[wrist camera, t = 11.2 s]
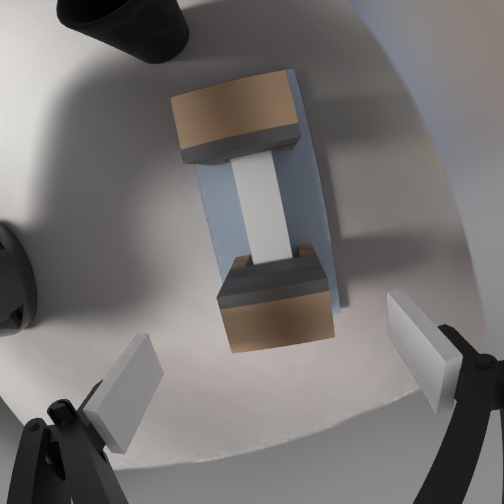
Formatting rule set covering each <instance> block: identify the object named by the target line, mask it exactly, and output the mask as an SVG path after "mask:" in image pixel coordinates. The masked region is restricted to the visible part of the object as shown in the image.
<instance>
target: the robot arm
mask: <svg viewBox="0 0 504 504" xmlns="http://www.w3.org/2000/svg"><path fill="white" fill-rule="evenodd" d="M36 303H37V297H36V287H35V281H34V277H33V273H32V269H31V266H30V264H29V261H28V259H27V256H26V254H25V252H24V250H23V248H22V246H21V245H20V243H19V241H18V240H17V239H16V237H15V236H14V235H13V234H12V233H11V232H10V231H9V230H8V229H7V228H6V227H4V226H3V225H1V224H0V337H4V336H9V335H13V334H16V333H18V332H20V331H21V330H22V329H24V328H25V327H27V326H28V325H29V324H30V323H31V321H32V320H33V318H34V315H35V311H36ZM387 307H388V336H389V338H390V340H391V341H392V343H393V344H394V346H395V347H396V349H397V351H398V352H399V354H400V355H401V357H402V358H403V360H404V362H405V363H406V365H407V366H408V368H409V370H410V371H411V373H412V375H413V376H414V378H415V380H416V381H417V383H418V385H419V386H420V388H421V390H422V391H423V393H424V394H425V396H426V398H427V399H428V401H429V403H430V405H431V407H432V408H433V410H434V412H435V413H436V415H437V414H440V413H442V412H445V411H447V410H450V409H452V407H453V403H454V399H456V401H457V403H456V406H455V409H454V412H453V415H452V418H451V421H450V423H449V426H448V429H447V431H446V434H445V436H444V439H443V441H442V444H441V446H440V449H439V451H438V454H437V456H436V458H435V460H434V462H433V465H432V467H431V469H430V471H429V473H428V475H427V477H426V479H425V481H424V483H423V486H422V488H421V489H420V491H419V493H418V495H417V497H416V499H415V500H414V502H413V504H462V502H463V500H464V498H465V495H466V492H467V490H468V487H469V484H470V481H471V479H472V476H473V473H474V471H475V468H476V464H477V461H478V458H479V455H480V452H481V448H482V445H483V441H484V437H485V434H486V430H487V425H488V421H489V417H490V412H491V411H492V410H498V409H500V416H501V427H502V443H503V493H502V504H504V360H503V361H497V359H496V358H495V357H493V356H491V355H489V354H479V353H478V352H477V351H476V350H475V349H474V348H473V347H472V346H471V345H470V344H469V343H468V342H467V341H466V340H464V338H463V337H462V336H461V335H460V334H459V333H458V332H457V331H456V330H455V329H454V328H453V327H451V326H448V325H446V324H444V325H441V326H438V327H437V326H436V325H435V324H434V323H433V322H432V321H431V320H430V319H429V318H428V317H427V316H426V315H425V314H424V313H423V312H422V311H421V310H420V309H419V308H418V307H417V305H416V304H415V303H414V302H413V301H412V300H411V299H410V298H409V297H408V296H407V295H406V294H405V293H404V292H403V291H402V290H401V289H396V290H392V291H388V292H387ZM163 374H164V372H163V370H162V368H161V365H160V363H159V361H158V358H157V356H156V353H155V351H154V348H153V346H152V343H151V341H150V338H149V336H148V334H142V335H136V336H135V338H134V339H133V340H132V342H131V343H130V344H129V346H128V347H127V348H126V350H125V351H124V352H123V354H122V355H121V357H120V358H119V359H118V361H117V362H116V363H115V365H114V366H113V368H112V369H111V370H110V372H109V373H108V374H107V376H106V377H105V379H104V380H101V381H100V382H99V383H98V384H96V385H95V386H94V387H93V389H92V390H91V392H90V393H89V394H88V396H87V398H86V399H85V400H84V401H83V403H82V404H81V406H80V407H79V408H78V410H77V411H76V410H75V408H74V407H73V405H72V404H71V402H70V400H68V399H61V400H57V401H55V402H54V403H52V404H51V405H50V406H49V408H48V409H47V413H48V415H49V416H50V418H51V419H52V421H53V422H54V424H55V425H48V426H47V424H46V423H45V421H44V420H43V419H42V418H35V419H31V420H30V421H28V423H27V424H26V425H25V427H24V429H23V433H22V436H21V440H20V443H19V448H18V451H17V455H16V460H15V463H14V468H13V472H12V477H11V483H10V487H9V493H8V499H7V504H71V497H72V501H73V504H128V501H127V499H126V497H125V495H124V493H123V491H122V489H121V487H120V485H119V483H118V481H117V478H116V476H115V474H114V472H113V469H112V467H111V465H110V463H109V460H108V458H107V455H106V454H105V452H104V451H103V448H104V446H105V444H106V446H107V447H108V448H109V450H110V451H111V452H112V453H119V454H125V453H126V451H127V449H128V447H129V445H130V443H131V440H132V438H133V436H134V434H135V432H136V430H137V428H138V426H139V423H140V421H141V419H142V417H143V415H144V413H145V411H146V409H147V407H148V405H149V402H150V400H151V398H152V396H153V394H154V392H155V390H156V388H157V386H158V384H159V382H160V380H161V378H162V376H163Z"/></svg>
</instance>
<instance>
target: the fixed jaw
mask: <svg viewBox="0 0 504 504" xmlns="http://www.w3.org/2000/svg"><path fill="white" fill-rule="evenodd" d="M170 99H171V105H172V110H173V115H174V120H175V124H176V129H177V134H178V139H179V144H180V148H181V153H182V158H183V162H184V163H186V164H199V165H211V166H216V165H220V164H224V163H229V162H228V159H232V158H237V157H241V156H246V155H250V154H255V153H260V152H264V151H269V150H274V149H278V152H280V151H285V150H291V149H293V148H294V147H295V145H296V144H297V143H298V141H299V140H300V138H301V137H302V136H301V132H300V128H299V123H298V119H297V115H296V111H295V107H294V103H293V99H292V95H291V91H290V87H289V83H288V79H287V75H286V72H285V70H281V71H275V72H270V73H265V74H260V75H255V76H250V77H245V78H241V79H237V80H232V81H228V82H224V83H220V84H216V85H213V86H209V87H205V88H202V89H198V90H195V91H191V92H188V93H185V94H181V95H178V96H175V97H172V98H170Z"/></svg>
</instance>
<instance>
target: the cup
mask: <svg viewBox="0 0 504 504" xmlns="http://www.w3.org/2000/svg"><path fill="white" fill-rule="evenodd" d="M56 10H57V17H58V19H59V20H60V22H61V24H63V25H65V26H66V27H68V28H70V29H73V30H75V31H78V32H80V33H83V34H85V35H88V36H90V37H92V38H95V39H97V40H99V41H102V42H104V43H106V44H108V45H111V46H113V47H115V48H117V49H119V50H122V51H124V52H126V53H128V54H130V55H132V56H134V57H136V58H138V59H140V60H142V61H144V62H147V63H153V64H158V63H163V62H166V61H169V60H171V59H172V58H174V57H176V56H177V55H178V54H179V53H180V52H181V51H182V50H183V48H184V47H185V46H186V43H187V41H188V38H189V29H188V27H187V24H186V22H185V19H184V17H183V15H182V12H181V10H180V8H179V5H178V3H177V0H58V1H57V8H56Z"/></svg>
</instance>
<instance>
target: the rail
mask: <svg viewBox="0 0 504 504" xmlns="http://www.w3.org/2000/svg"><path fill="white" fill-rule="evenodd" d="M285 72H286V75H287V79H288V83H289V87H290V91H291V95H292V99H293V103H294V107H295V111H296V115H297V119H298V123H299V128H300V132H301V136H302V137H301V138H300V140H299V141H298V143H297V144H296V145H295V147H294V148H293V149H291V150H285V151H280V152H278V149H274V150H269V151H264V152H260V153H255V154H250V155H246V156H241V157H237V158H232V159H228V162H229V163H224V164H220V165H216V166H211V165H199V164H194V166H195V170H196V175H197V179H198V184H199V188H200V192H201V197H202V201H203V205H204V210H205V214H206V218H207V222H208V226H209V230H210V235H211V239H212V243H213V247H214V251H215V255H216V259H217V263H218V267H219V271H220V275H221V279H222V282H223V283H224V281H225V279H226V277H227V275H228V272H229V270H230V268H231V266H232V264H233V262H234V260H235V258H236V257H240V256H245V255H249V256H250V261H251V265H258V264H263V263H269V262H274V261H280V260H285V259H291V258H296V257H299V252H298V246H299V245H304V244H310V243H311V244H312V246H313V248H314V250H315V252H316V254H317V256H318V259H319V261H320V263H321V265H322V267H323V269H324V272H325V274H326V276H327V278H328V285H329V292H330V300H331V308H332V314H333V313H338V312H341V311H340V303H339V295H338V287H337V279H336V272H335V265H334V258H333V251H332V245H331V238H330V232H329V226H328V220H327V214H326V209H325V203H324V198H323V192H322V187H321V182H320V177H319V172H318V167H317V162H316V157H315V153H314V148H313V143H312V139H311V134H310V130H309V126H308V122H307V117H306V113H305V109H304V105H303V101H302V97H301V93H300V89H299V85H298V82H297V78H296V74H295V70H294V68H293V69H287V70H285Z"/></svg>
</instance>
